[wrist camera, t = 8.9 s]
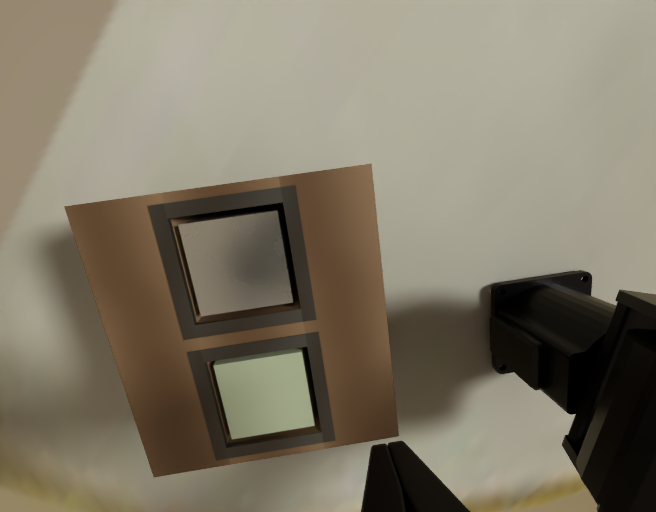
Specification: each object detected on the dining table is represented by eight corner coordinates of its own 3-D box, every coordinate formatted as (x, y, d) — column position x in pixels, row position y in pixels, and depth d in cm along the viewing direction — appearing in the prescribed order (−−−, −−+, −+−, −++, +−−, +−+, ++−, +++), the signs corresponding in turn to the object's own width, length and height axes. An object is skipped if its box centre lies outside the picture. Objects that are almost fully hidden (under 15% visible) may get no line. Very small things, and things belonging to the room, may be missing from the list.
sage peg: (303, 304, 19) (301, 351, 14) (312, 359, 20) (314, 425, 15) (241, 313, 19) (213, 365, 14) (253, 369, 20) (231, 439, 15)
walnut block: (350, 171, 18) (371, 163, 12) (373, 366, 21) (398, 436, 15) (145, 200, 18) (63, 206, 12) (198, 394, 20) (153, 478, 15)
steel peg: (287, 203, 18) (277, 210, 12) (297, 268, 19) (293, 302, 13) (219, 213, 18) (178, 224, 12) (233, 277, 19) (201, 316, 13)
